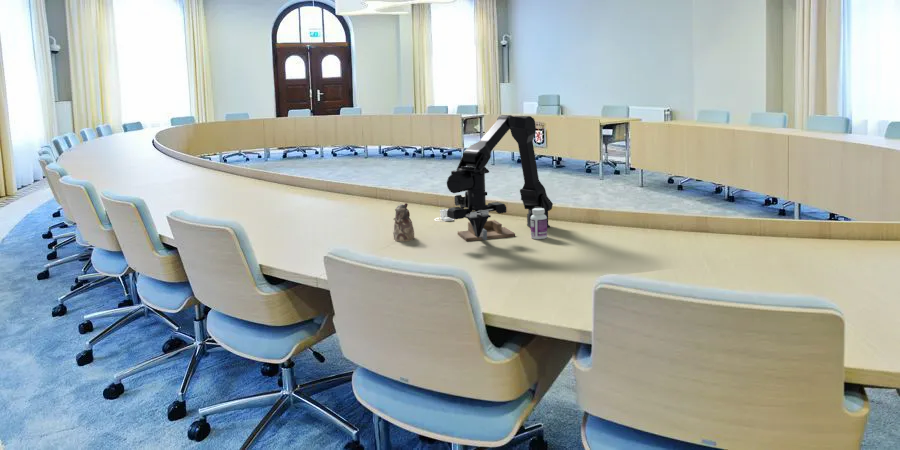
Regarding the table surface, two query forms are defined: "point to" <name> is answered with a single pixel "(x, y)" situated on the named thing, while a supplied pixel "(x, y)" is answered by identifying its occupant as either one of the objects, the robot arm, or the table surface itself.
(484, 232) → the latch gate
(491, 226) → the cradle board
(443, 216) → the teacup and saucer
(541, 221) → the pill bottle
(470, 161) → the robot arm
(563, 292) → the table surface
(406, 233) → the figurine
